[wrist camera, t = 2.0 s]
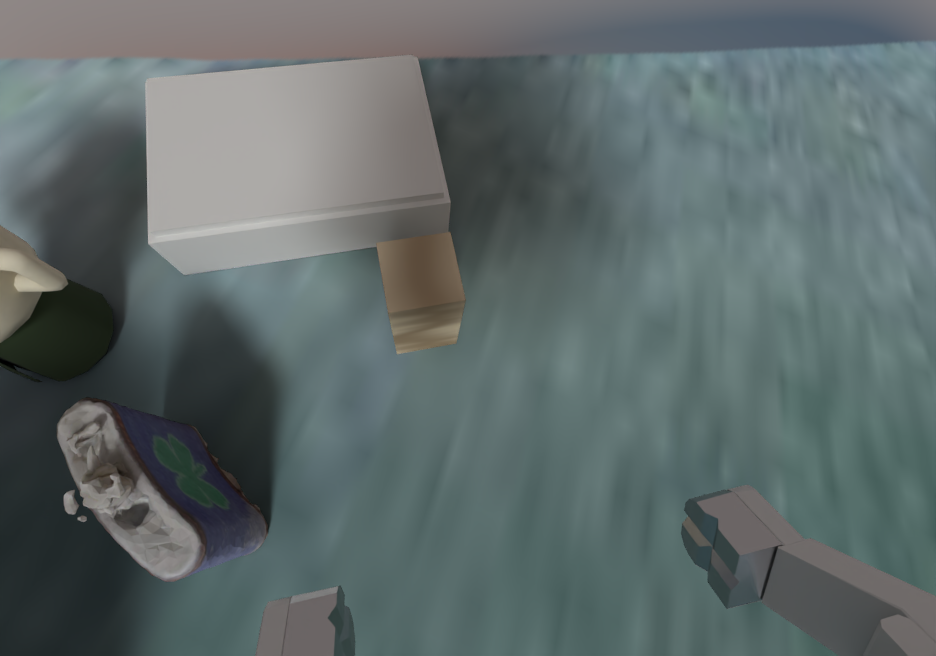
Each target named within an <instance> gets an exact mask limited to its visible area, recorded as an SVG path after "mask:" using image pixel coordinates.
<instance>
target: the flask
mask: <svg viewBox="0 0 936 656" xmlns="http://www.w3.org/2000/svg"><path fill="white" fill-rule="evenodd" d="M57 439H58V441H59V444H60V447H61V449H62V451H63V453H64V456H65V459H66V462H67V466H68V468H69V470H70V472H71V475H72V477H73V479H74V481H75V484H76V486H77V488H78V490H79V492H80V496H82V497H83V498H84V499H83V506H86V507H88V508H89V509H90V510H91V511H92V512H93V514H94V515H95V516H96V518H97V520H98V521H99V522H100V523H101V524H102V525H103V527H104V528H105V530H106V531H107V532H108V533H109V534H110V535H111V536H112V537H113V538H114V540H115V541H116V542H117V543H118V544H119V545H120V546H121V547H122V548H123V549H124V550H126V551H127V552H128V553H129V554H130V555H131V557H132V558H133V559H134V560H135V561H136V562H137V563H138V564H139V565H140V566H141V567H143V568H144V569H146V570H147V571H148V572H149V573H150V574H151V575H152V576H156V577H157V578H159V579H161V580H163V581H165V582H170V581H176V580H179V579H181V578H184V577H187V576H189V575H192V574H194V573H197V572H199V571H202V570H204V569H207V568H210V567H214V566H216V565H219V564H221V563H224V562H226V561H229V560H232V559H234V558H237V557H240V556H243V555H248V554H250V553H252V552H254V551H255V550H257V549H258V548H259V547H260V546H261V545H262V544H263V542H264V540H265V539H266V537H267V535H268V525H267V523H266V521H265V519H264V516H263V515H262V513H261V511H260V508H259V507H257V505H256V504H254V505H253V504H252V503H250V502H249V501H248V499H247V498H246V496H245V495H244V494H243V491H242V490H241V486H240V485H239V484H238V483H237V479H236V478H234V477H233V476H232V474H231V473H228V472H226V471H225V470H223V469H220V467H219V465H218V463H217V462H218V459H219V458H216V457H215V456H213V455H212V454H210V452H209V451H208V448H207V443H206V442H205V441H204V440H203V438H202V436H201V434H200V433H199V432H198V430H197V429H196V427H194V426H191V425H187V424H182V423H177V422H175V421H170V420H167V419H164V418H161V417H159V416H156V415H152V414H148V413H144V412H140V411H137V410H133V409H130V408H128V407H125V406H120V405H118V404H116V403H111V402H109V401H106V400H100V399H97V398H90V397H86V398H82V399H81V400H79V401H78V402H77V403H76V404H74V405H73V406H72V407H70V408H69V409H67V410H66V411H65V413H64V414H63V415H62V417H61V419H60V420H59V422H58V424H57ZM74 494H75V490H71V491H69V492H66V494H65V495H64V507H65V511H66V512H67V513H68V514H75V513H76V511H77V509H78V507H79V505H78V504H77V502H76V500H75V498H74ZM78 520H79V521H82V522H85V521H87V517H85V516H83V515H82V516H80V517H78Z"/></svg>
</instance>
